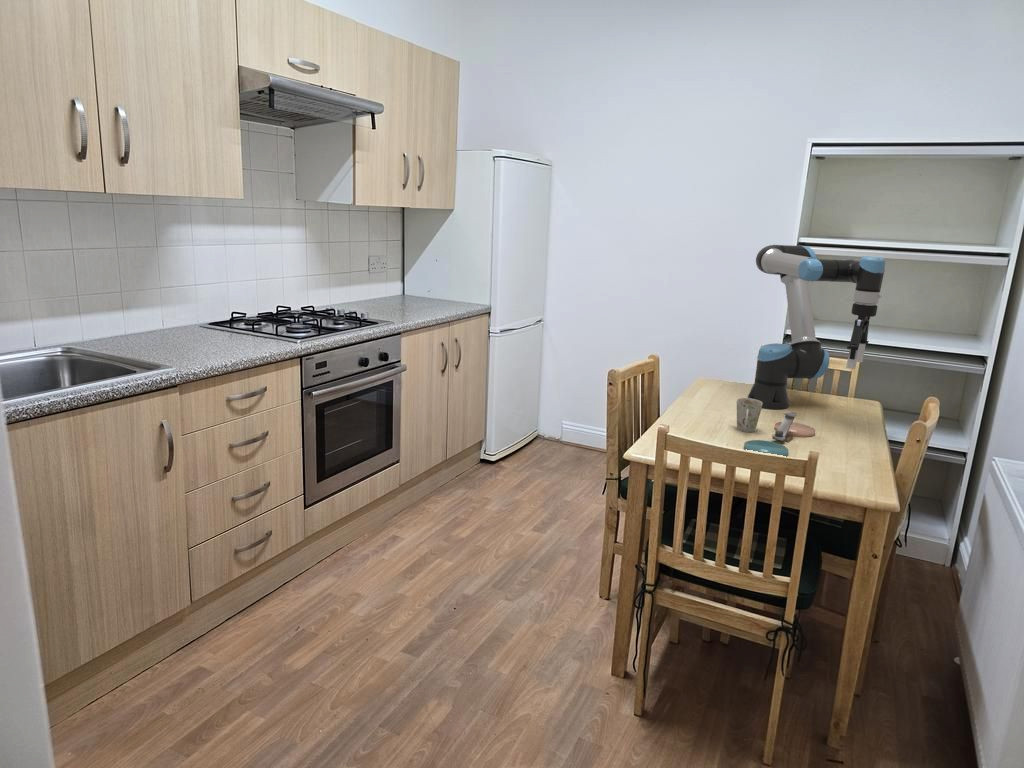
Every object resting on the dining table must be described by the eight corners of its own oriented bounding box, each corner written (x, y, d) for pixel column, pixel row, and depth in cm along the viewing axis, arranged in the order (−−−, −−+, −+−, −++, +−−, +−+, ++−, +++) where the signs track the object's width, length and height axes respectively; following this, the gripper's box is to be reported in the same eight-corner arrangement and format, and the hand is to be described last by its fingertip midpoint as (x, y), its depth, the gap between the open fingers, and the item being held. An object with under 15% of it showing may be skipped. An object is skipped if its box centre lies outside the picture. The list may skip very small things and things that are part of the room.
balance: (768, 441, 224) (771, 418, 222) (781, 432, 234) (785, 410, 232) (783, 445, 221) (787, 422, 219) (796, 436, 231) (800, 413, 229)
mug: (758, 427, 239) (762, 399, 236) (758, 438, 227) (762, 409, 225) (733, 424, 241) (737, 396, 239) (732, 434, 230) (736, 406, 227)
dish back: (768, 430, 236) (769, 427, 236) (781, 422, 246) (781, 419, 245) (808, 439, 228) (808, 436, 228) (819, 431, 238) (820, 427, 238)
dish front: (737, 450, 215) (737, 446, 214) (752, 440, 224) (753, 437, 224) (779, 461, 207) (780, 457, 206) (793, 450, 217) (794, 447, 216)
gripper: (871, 308, 220) (859, 373, 226) (883, 301, 240) (872, 361, 246) (846, 305, 224) (835, 369, 230) (859, 298, 244) (849, 357, 250)
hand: (854, 365), depth 238 cm, fingers open, 13 cm apart
